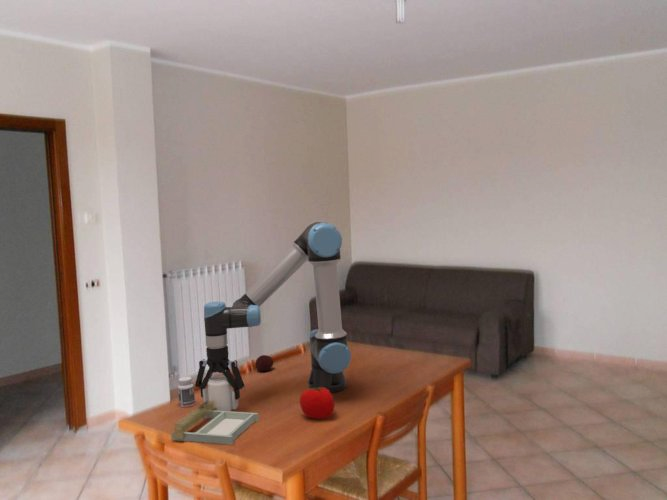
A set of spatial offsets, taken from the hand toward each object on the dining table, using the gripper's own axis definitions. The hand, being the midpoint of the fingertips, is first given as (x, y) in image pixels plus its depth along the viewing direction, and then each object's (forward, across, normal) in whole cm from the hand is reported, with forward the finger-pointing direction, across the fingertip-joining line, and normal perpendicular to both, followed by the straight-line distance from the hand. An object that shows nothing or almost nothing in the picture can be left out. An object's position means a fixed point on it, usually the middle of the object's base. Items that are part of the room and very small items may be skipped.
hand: (221, 407), depth 208 cm
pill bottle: (+2, +16, -4) cm, 17 cm away
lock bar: (0, +1, +16) cm, 16 cm away
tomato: (+2, -36, -1) cm, 36 cm away
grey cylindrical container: (+2, 0, 0) cm, 2 cm away
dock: (+1, -6, +16) cm, 17 cm away
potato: (+2, +4, -49) cm, 49 cm away
